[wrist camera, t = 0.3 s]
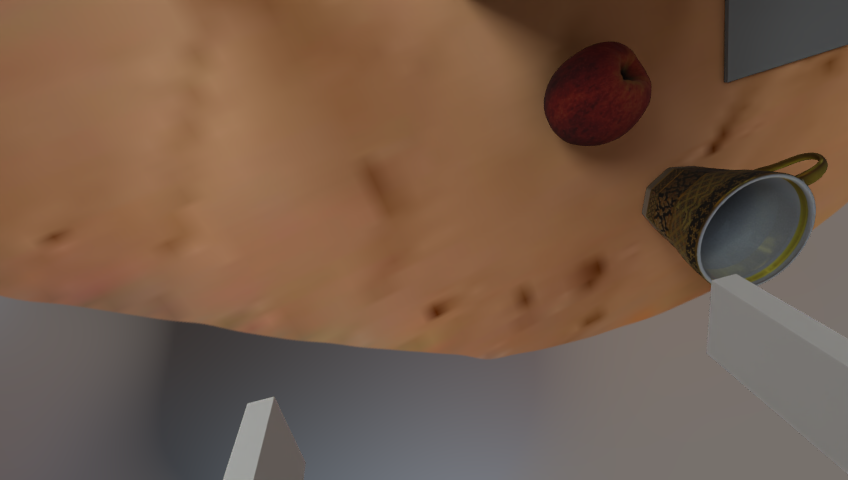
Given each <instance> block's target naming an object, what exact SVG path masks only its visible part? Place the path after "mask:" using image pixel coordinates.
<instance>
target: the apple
mask: <svg viewBox="0 0 848 480" xmlns="http://www.w3.org/2000/svg"><path fill="white" fill-rule="evenodd" d="M650 98H651V81H650V79H649V77H648V75H647V73H646V71H645V70H644V68H643V66H642V65H641V63H640V62H639V60H638V59H637V57H636V56H635V54H634V53H633V51H632V50H631V49H629V48H628V47H627V46H625V45H623V44H621V43H618V42H603V43H598V44H594V45H592V46H589V47H587V48H585V49H583V50H581V51H579V52H578V53H576V54H575V55H573V56H572V57H570V58H569V59H568V60H567V61H566V62H564V63H563V64H562V65H561V66H560V67H559V68H558V70H557V71H556V72H555V73H554V75H553V76H552V78H551V80H550V82H549V84H548V86H547V89H546V93H545V97H544V111H545V115H546V118H547V120H548V123H549V125H550V127H551V128H552V130H553V131H554V132H555V133H556V134H557V135H558V136H559V137H560V138H561V139H563V140H564V141H566V142H568V143H571V144H575V145H581V146H596V145H602V144H605V143H608V142H611V141H613V140H615V139H617V138H619V137H621V136H622V135H624V134H625V133H627V132H628V131H629V130H630V129H631V128H632V127H633V126H634V125H635V124H636V123H637V122H638V120H639V119H640V118H641V116H642V115H643V113H644V112H645V110H646V108H647V106H648V104H649V102H650Z"/></svg>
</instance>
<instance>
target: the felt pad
mask: <svg viewBox="0 0 848 480" xmlns="http://www.w3.org/2000/svg"><path fill="white" fill-rule="evenodd" d="M845 45H848V0H725V63H724V82H731V81H734V80H737V79H740V78H743V77H746V76H750V75H753V74H756V73H759V72H762V71H765V70H769V69H772V68H775V67H778V66H781V65H784V64H788V63H791V62H794V61H797V60H800V59H803V58H807V57H810V56H813V55H816V54H819V53H822V52H826V51H829V50H832V49H835V48H838V47H841V46H845Z"/></svg>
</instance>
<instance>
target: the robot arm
mask: <svg viewBox="0 0 848 480" xmlns="http://www.w3.org/2000/svg"><path fill="white" fill-rule="evenodd" d="M706 354H708V355H709V356H710V357H711V358H712V359H714V360H715V361H716V362H717V363H718V364H719V365H720V366H722V367H723V368H724V369H725V370H726V371H727V372H729V373H730V374H731V375H732V376H733V377H734V378H736V379H737V380H738V381H739V382H740V383H742V384H743V385H744V386H745V387H746V388H747V389H748V390H750V391H751V392H752V393H753V394H754V395H755V396H757V397H758V398H759V399H760V400H761V401H763V402H764V403H765V404H766V405H767V406H768V407H770V408H771V409H772V410H773V411H774V412H775V413H777V414H778V415H779V416H780V417H781V418H782V419H784V420H785V421H786V422H787V423H788V424H789V425H791V426H792V427H793V428H794V429H795V430H796V431H798V432H799V433H800V434H801V435H802V436H803V437H805V438H806V439H807V440H808V441H809V442H810V443H812V444H813V445H814V446H815V447H816V448H817V449H819V450H820V451H821V452H822V453H823V454H824V455H826V456H827V457H828V458H829V459H830V460H832V461H833V462H834V463H835V464H836V465H837V466H839V467H840V468H841V469H842V470H843V471H844V472H845V473H847V474H848V338H846V337H845V336H843V335H841V334H839V333H838V332H836V331H834V330H832V329H831V328H829V327H827V326H826V325H824V324H822V323H820V322H819V321H817V320H815V319H814V318H812V317H810V316H808V315H807V314H805V313H803V312H801V311H800V310H798V309H796V308H794V307H792V306H791V305H789V304H788V303H786V302H784V301H782V300H781V299H779V298H777V297H775V296H774V295H772V294H770V293H768V292H767V291H765V290H763V289H761V288H760V287H758V286H756V285H755V284H753V283H751V282H749V281H748V280H746V279H744V278H743V277H741V276H739V275H737V274H733V275H730V276H726V277H722V278H718V279H715V280H712V283H711V297H710V311H709V323H708V337H707V351H706ZM304 471H305V461H304V458H303V456H302V454H301V452H300V450H299V448H298V446H297V444H296V442H295V439H294V437H293V435H292V433H291V431H290V429H289V427H288V425H287V423H286V421H285V419H284V416H283V414H282V412H281V410H280V408H279V406H278V404H277V402H276V399H275V398H274V397H271V398H267V399H264V400H259V401H256V402H252V403H248V404H247V407H246V410H245V413H244V416H243V419H242V422H241V425H240V428H239V432H238V435H237V438H236V441H235V444H234V447H233V450H232V454H231V457H230V460H229V463H228V466H227V469H226V473H225V475H224V479H223V480H303V478H304Z"/></svg>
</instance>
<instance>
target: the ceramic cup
mask: <svg viewBox="0 0 848 480" xmlns="http://www.w3.org/2000/svg"><path fill="white" fill-rule="evenodd" d="M810 159H814V160H818V161H819V162H818V163H817V164H816V165H815V166H813V167H812V168H810V169H808V170H807V171H805V172H803V173H801V174H798V175H796V176H793V175H790V174H786V173H779V172H772V171H775V170H778V169H781V168H784V167H786V166H789V165H792V164H794V163H797V162H800V161H804V160H810ZM827 167H828V164H827V161H826V159H825V158H824V157H823V156H822V155H820V154H818V153H804V154H800V155H796V156H793V157H791V158H788V159H785V160H783V161H780V162H778V163H775V164H772V165H769V166H765V167H762V168H758V169H755V170H726V169H714V168H705V167H696V166H687V167H672V168H668V169H666V170H665V171H664V172H663V173H662V174H661V175H660V176H659V177H658V178H657V179H655V180H654V181H653V182H652V183H651V184H650V185H649V186H648V187H647V189H646V193H645V199H644V204H643V209H642V214H643V215H644V216H645V217H646V219H647V220H648V221H649V222H650V223H651V224H652V226H653V227H654V228H655V229H656V230H657V231H658V232H659V233H660V234H661V235H662V236H663V237H665V238H666V239H667V240H668V241H669V242H670V243H671V244H672V245H673V246H674V247H675V248H676V249H677V250H678V252H679V253H680V254H681V256H682V257H683V258H684V259H685V260H686V262H687V263H688V264H689V265H690V266H691V267H692V268H693V269H694V270H695V271H696V272H697V273H698V274H700V275H701V276H702V277H703V278H704V279H705V280H706V281H707V282H709V283H710V284H711V283H712V280H715V279H718V278H722V277H726V276H730V275H733V274H737V275H739V276H741V277H743V278H744V279H746V280H748V281H749V282H751V283H753V284H755V285H756V286H758V285H760V284H763V283H765V282H767V281H769V280H770V279H772V278H773V277H775V276H777V275H778V274H780V273H781V272H782V271H783V270H784V269H786V268H787V267H788V266H789V265H790V264H791V263H792V262H793V261H794V260H795V258H796V257H797V256H798V255H799V254H800V252H801V251H802V249H803V248H804V246H805V244H806V243H807V240H808V239H809V236H810V234H811V232H812V229H813V226H814V221H815V214H816V206H815V200H814V197H813V194H812V192H811V190H810V188H809V187H808V185H810V184H812V183H814V182H816V181H817V180H818V179H820V178H821V177H822V175H823V174H824V173H825V172H826V170H827Z"/></svg>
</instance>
